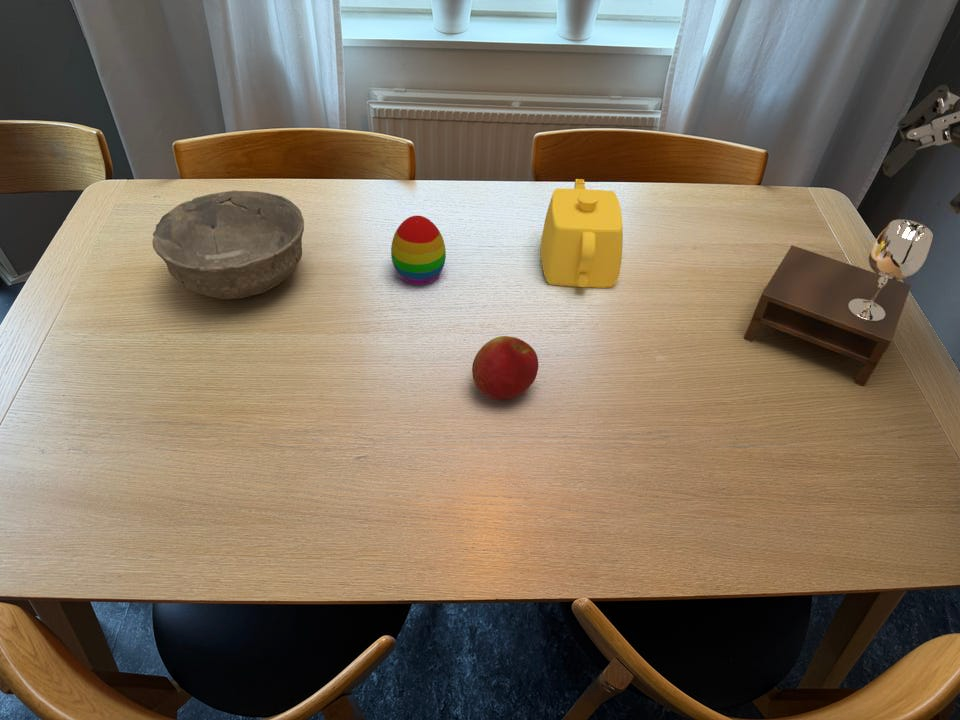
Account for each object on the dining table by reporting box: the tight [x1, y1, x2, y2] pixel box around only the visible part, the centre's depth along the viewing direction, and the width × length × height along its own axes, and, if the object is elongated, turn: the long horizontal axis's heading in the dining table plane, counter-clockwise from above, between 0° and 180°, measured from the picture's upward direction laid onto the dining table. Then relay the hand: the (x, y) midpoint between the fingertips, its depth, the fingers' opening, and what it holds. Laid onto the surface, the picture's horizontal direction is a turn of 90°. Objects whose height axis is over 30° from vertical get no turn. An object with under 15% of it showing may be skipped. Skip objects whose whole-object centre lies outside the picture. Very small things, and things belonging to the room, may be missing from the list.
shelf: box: [743, 244, 912, 387], centre depth 91 cm, size 16×14×8 cm
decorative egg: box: [390, 215, 447, 285], centre depth 98 cm, size 8×8×10 cm
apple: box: [471, 335, 540, 401], centre depth 82 cm, size 8×8×8 cm
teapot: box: [540, 178, 624, 289], centre depth 101 cm, size 20×12×12 cm, turn 177°
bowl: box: [151, 190, 305, 300], centre depth 96 cm, size 21×21×10 cm
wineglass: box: [848, 219, 934, 321], centre depth 81 cm, size 6×6×12 cm
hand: (918, 190), depth 72 cm, fingers open, 8 cm apart
